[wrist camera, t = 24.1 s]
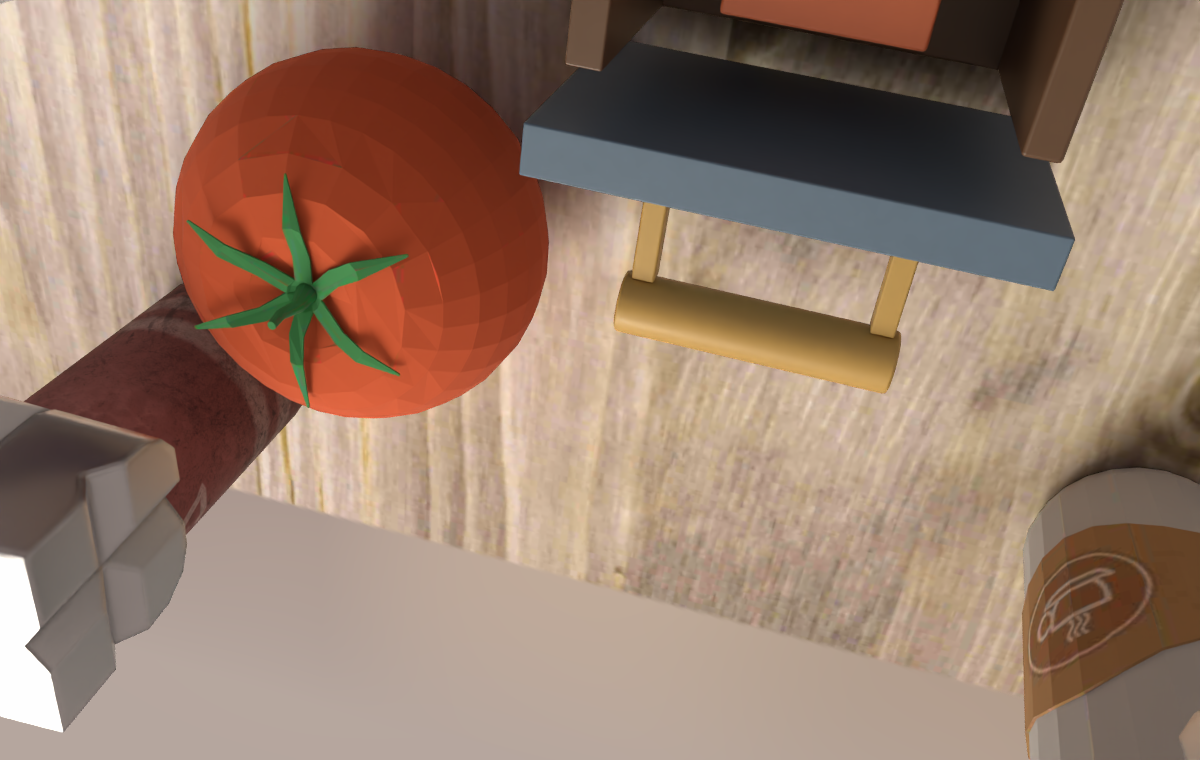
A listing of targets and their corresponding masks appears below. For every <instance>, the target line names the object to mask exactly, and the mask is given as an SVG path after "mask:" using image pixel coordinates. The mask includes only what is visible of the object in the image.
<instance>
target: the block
mask: <svg viewBox="0 0 1200 760" xmlns="http://www.w3.org/2000/svg"><path fill="white" fill-rule="evenodd" d="M940 4H941V0H721V5H720V12H721V13H723V14H726V15H732V16H737V17H742V18H747V19H753V20H758V21H763V22H768V23H774V24H779V25H784V26H789V27H795V28H800V29H805V30H811V31H816V32H821V33H826V34H832V35H837V36H842V37H847V38H853V39H858V40H863V41H868V42H874V43H879V44H884V45H889V46H895V47H900V48H905V49H910V50H916V51H921V52H923V51H926V50H927V48H928V45H929V42H930V38H931V35H932V31H933V28H934V25H935V21H936V18H937V14H938V11H939V7H940Z"/></svg>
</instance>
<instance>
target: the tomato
mask: <svg viewBox="0 0 1200 760" xmlns="http://www.w3.org/2000/svg"><path fill="white" fill-rule="evenodd" d="M520 158H521V145H520V143H519V141H518V139H517V138H516V136H515V135H514V133H513V132H512V131H511V130H510V128H509V127H508V126H507V125H506V124H505V122H504V121H503V120H502V119H501V117H500V116H499V115H498V114H497V112H496V111H495V110H494V109H493V108H492V107H491V106H490V105H489V104H487V103H486V102H485V101H484V100H483V99H482V98H481V97H479V96H478V95H477V94H476V93H475V92H474V91H473V90H471V89H470V88H469V87H468V86H467V85H465V84H463V83H462V82H460V81H458V80H457V79H455V78H453V77H452V76H450V75H448V74H447V73H445V72H443V71H442V70H440V69H438V68H437V67H434V66H432V65H429V64H426V63H423V62H421V61H418V60H415V59H413V58H410V57H407V56H404V55H400V54H396V53H391V52H385V51H378V50H372V49H365V48H359V47H351V48H334V49H322V50H318V51H314V52H310V53H307V54H303V55H300V56H297V57H293V58H290V59H287V60H283V61H280V62H277V63H273V64H272V65H270V66H268V67H267V68H265V69H263V70H262V71H260V72H258V73H257V74H255V75H253V76H252V77H250V78H248V79H247V80H245V81H244V82H243V83H242V84H240V85H239V86H238V87H237V88H235V89H234V90H233V91H232V92H230V93H229V94H228V95H227V96H226V98H225V99H224V100H223V101H222V102H221V103H220V104H219V105H218V106H217V107H216V108H215V109H214V110H213V111H212V112H211V113H210V114H209V115H208V117H207V119H206V120H205V122H204V124H203V126H202V127H201V129H200V131H199V133H198V134H197V136H196V138H195V140H194V142H193V143H192V145H191V147H190V149H189V151H188V153H187V155H186V157H185V158H184V161H183V165H182V169H181V172H180V176H179V179H178V183H177V186H176V196H175V211H174V229H173V237H174V244H175V251H176V258H177V264H178V267H179V270H180V273H181V276H182V279H183V282H184V285H185V288H186V291H187V293H188V295H189V297H190V299H191V301H192V303H193V305H194V307H195V309H196V311H197V313H198V315H199V317H200V319H201V320H202V321H203V323H201V324H198V325H195V326H194V328H195V329H208V330H209V331H210V333H211V334H212V335H213V337H214V338H215V340H216V341H217V342H218V344H219V345H220V346H221V347H222V348H223V349H224V350H225V351H226V352H227V353H228V354H229V355H230V356H231V357H232V358H233V359H234V360H235V361H236V362H237V363H238V364H239V366H241V367H242V368H243V369H244V370H246V371H247V372H248V373H249V374H251V375H252V376H253V377H255V378H256V379H257V380H258V381H260V382H261V383H262V384H264V385H265V386H267V387H268V388H270V389H272V390H274V391H275V392H277V393H279V394H281V395H282V396H284V397H286V398H288V399H289V400H291V401H294V402H296V403H299V404H301V405H304V406H307V407H308V408H312V409H314V410H317V411H320V412H325V413H330V414H334V415H339V416H343V417H357V418H387V417H395V416H402V415H409V414H415V413H420V412H422V411H425V410H428V409H430V408H433V407H436V406H438V405H441V404H444V403H446V402H448V401H450V400H452V399H454V398H457V397H459V396H461V395H462V394H464V393H466V392H467V391H469V390H470V389H472V388H473V387H475V386H476V385H478V384H479V383H481V382H482V381H484V380H485V379H486V378H487V377H488V376H489V375H490V374H491V373H492V372H493V371H494V370H495V369H496V368H497V367H498V366H499V364H500V363H501V362H502V361H503V360H504V359H505V358H506V357H507V356H508V355H509V354H510V353H511V351H512V350H513V349H514V348H515V347H516V346H517V345H518V343H519V341H520V340H521V338H522V336H523V334H524V332H525V331H526V329H527V327H528V325H529V324H530V322H531V320H532V318H533V315H534V313H535V310H536V308H537V305H538V302H539V299H540V296H541V292H542V289H543V285H544V282H545V278H546V275H547V262H548V246H549V239H548V229H547V222H546V214H545V207H544V200H543V196H542V193H541V190H540V187H539V184H538V181H537V179H536V178H532V177H527V176H523V175H520V174H519V169H520Z"/></svg>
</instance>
